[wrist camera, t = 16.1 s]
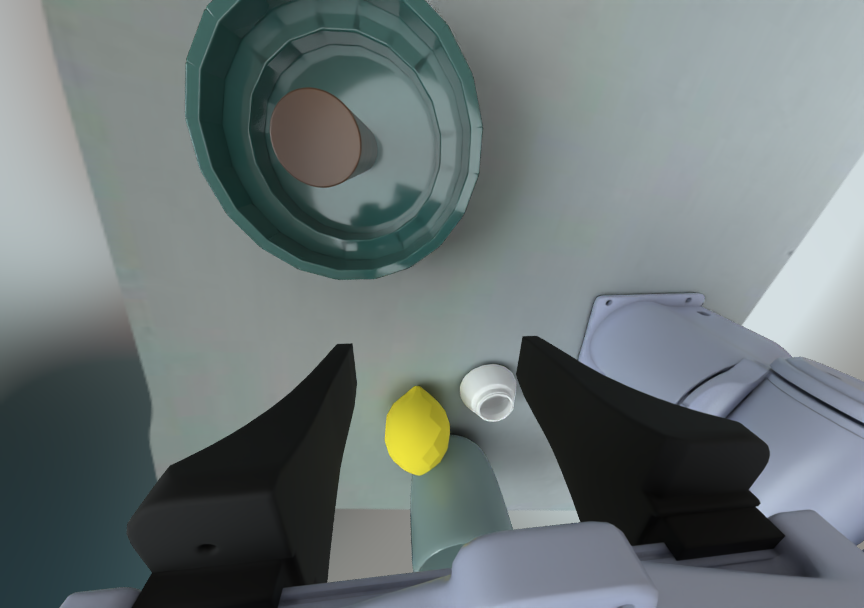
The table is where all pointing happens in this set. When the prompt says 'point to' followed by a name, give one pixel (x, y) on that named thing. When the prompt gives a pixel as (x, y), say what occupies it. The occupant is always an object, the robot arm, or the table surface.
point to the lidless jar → (489, 392)
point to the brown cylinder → (320, 138)
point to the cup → (454, 505)
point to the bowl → (366, 97)
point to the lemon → (417, 431)
